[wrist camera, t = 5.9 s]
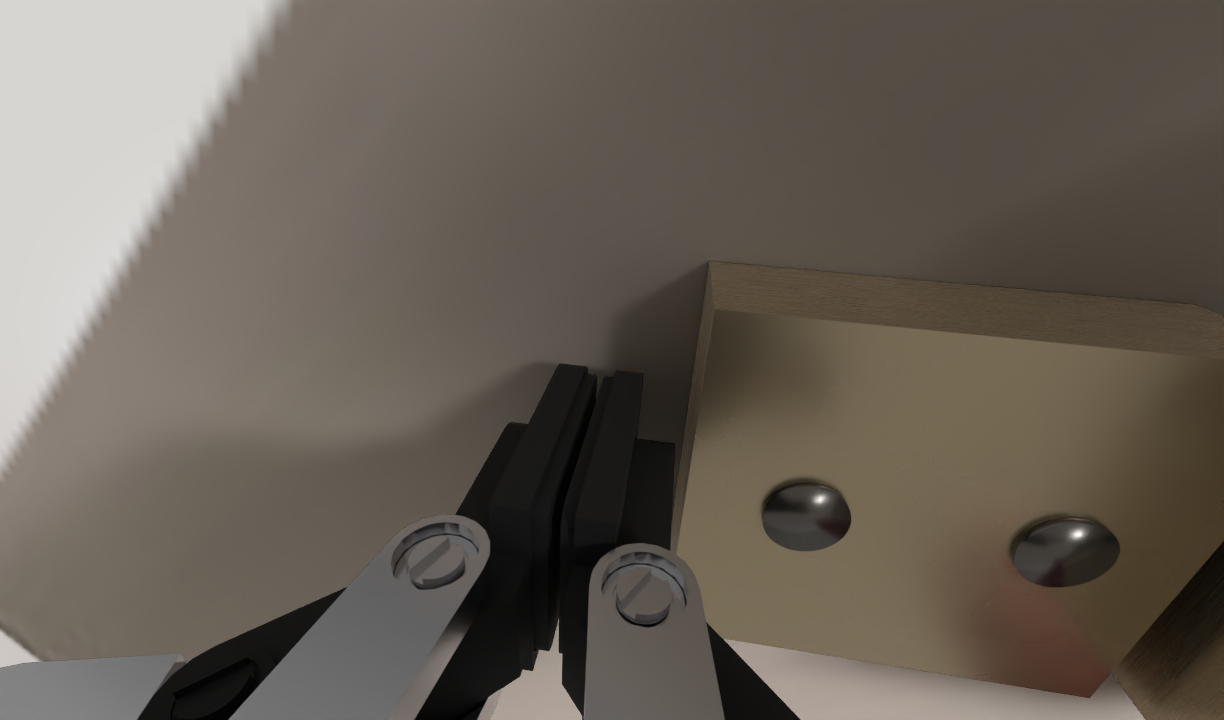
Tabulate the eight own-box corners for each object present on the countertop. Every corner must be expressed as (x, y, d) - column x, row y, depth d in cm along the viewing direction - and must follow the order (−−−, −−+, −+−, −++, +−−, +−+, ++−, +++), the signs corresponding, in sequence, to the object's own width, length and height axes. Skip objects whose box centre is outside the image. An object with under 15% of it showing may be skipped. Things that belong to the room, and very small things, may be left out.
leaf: (709, 261, 9) (715, 312, 7) (1195, 305, 8) (1379, 378, 6) (669, 538, 12) (664, 635, 10) (1016, 589, 12) (1094, 705, 9)
